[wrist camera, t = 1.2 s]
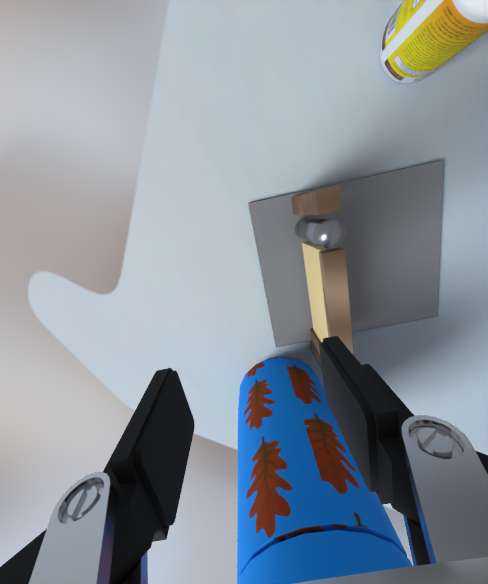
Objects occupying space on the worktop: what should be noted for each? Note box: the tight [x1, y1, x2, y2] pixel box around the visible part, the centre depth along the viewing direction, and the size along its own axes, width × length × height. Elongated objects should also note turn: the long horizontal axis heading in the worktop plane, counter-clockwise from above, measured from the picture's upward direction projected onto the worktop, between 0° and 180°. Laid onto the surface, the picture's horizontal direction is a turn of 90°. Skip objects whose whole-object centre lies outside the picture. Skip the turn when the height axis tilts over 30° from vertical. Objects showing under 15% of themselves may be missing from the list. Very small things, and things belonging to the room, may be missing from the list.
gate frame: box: [248, 160, 444, 370], centre depth 23 cm, size 18×19×8 cm
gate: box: [295, 218, 354, 355], centre depth 22 cm, size 14×2×8 cm, turn 12°
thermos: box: [237, 357, 412, 584], centre depth 20 cm, size 11×11×25 cm
